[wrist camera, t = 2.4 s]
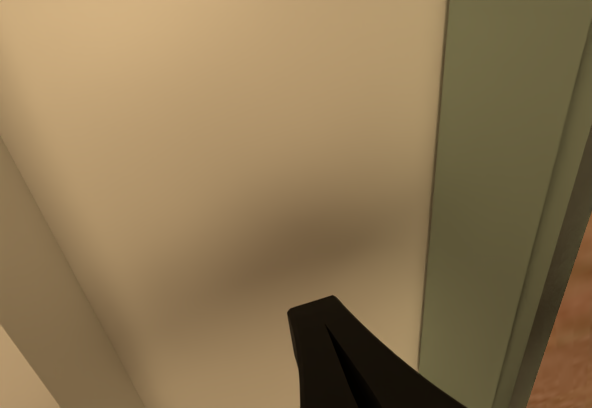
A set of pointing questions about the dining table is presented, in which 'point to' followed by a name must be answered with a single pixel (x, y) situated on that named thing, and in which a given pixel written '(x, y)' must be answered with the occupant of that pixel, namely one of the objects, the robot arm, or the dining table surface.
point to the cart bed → (208, 191)
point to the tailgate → (506, 193)
